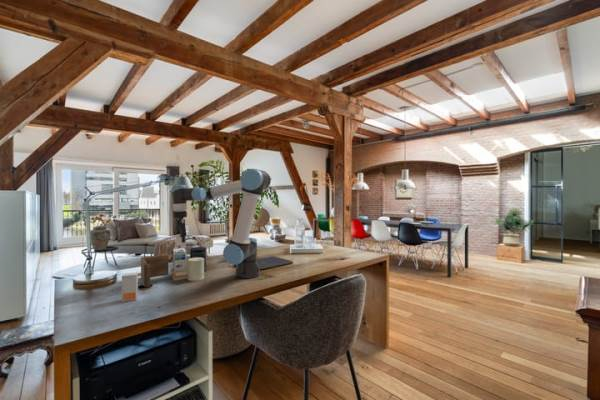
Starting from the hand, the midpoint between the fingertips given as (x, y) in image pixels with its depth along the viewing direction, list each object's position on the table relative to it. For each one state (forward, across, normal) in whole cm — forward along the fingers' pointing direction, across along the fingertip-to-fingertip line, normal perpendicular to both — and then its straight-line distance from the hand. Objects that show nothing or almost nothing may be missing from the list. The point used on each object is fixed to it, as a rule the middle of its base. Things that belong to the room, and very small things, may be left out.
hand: (180, 246), depth 168 cm
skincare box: (+19, +26, -28) cm, 42 cm away
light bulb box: (+13, -1, -1) cm, 13 cm away
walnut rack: (+18, -1, -12) cm, 22 cm away
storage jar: (+19, -7, +11) cm, 23 cm away
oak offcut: (+19, 0, -1) cm, 19 cm away
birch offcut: (+16, 0, -1) cm, 16 cm away
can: (+19, +8, +6) cm, 21 cm away
